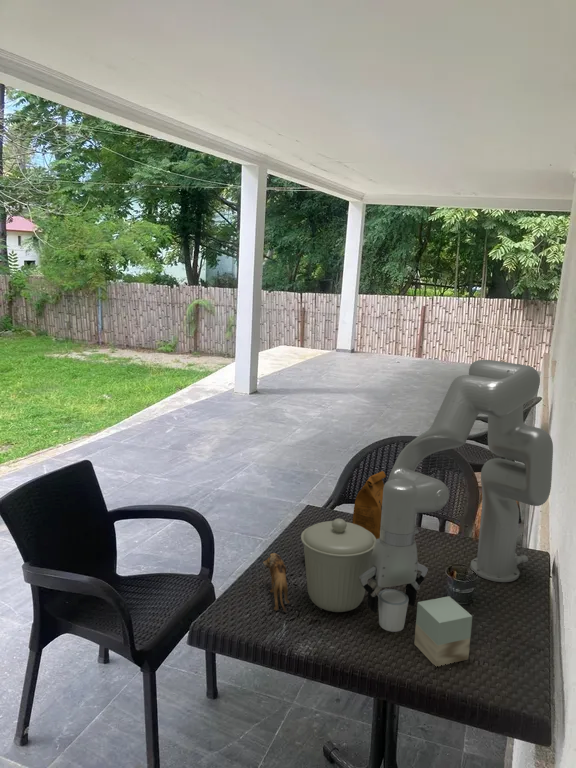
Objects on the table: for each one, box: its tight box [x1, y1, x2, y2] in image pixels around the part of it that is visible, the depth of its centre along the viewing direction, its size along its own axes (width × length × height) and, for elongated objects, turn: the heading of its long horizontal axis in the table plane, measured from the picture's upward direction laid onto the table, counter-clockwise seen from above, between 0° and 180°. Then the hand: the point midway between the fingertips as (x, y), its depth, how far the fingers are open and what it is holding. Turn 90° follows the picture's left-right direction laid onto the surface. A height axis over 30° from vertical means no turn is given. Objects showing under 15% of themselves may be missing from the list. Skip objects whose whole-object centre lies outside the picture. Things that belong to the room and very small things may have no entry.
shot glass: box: [377, 588, 409, 633], centre depth 131 cm, size 7×7×7 cm
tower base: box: [413, 623, 471, 668], centre depth 122 cm, size 8×8×5 cm
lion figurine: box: [262, 552, 290, 613], centre depth 141 cm, size 15×5×9 cm, turn 16°
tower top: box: [415, 596, 473, 645], centre depth 122 cm, size 8×8×5 cm
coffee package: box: [352, 470, 386, 539], centre depth 169 cm, size 10×12×22 cm
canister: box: [300, 518, 376, 613], centre depth 139 cm, size 18×18×21 cm
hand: (391, 606), depth 131 cm, fingers open, 9 cm apart
